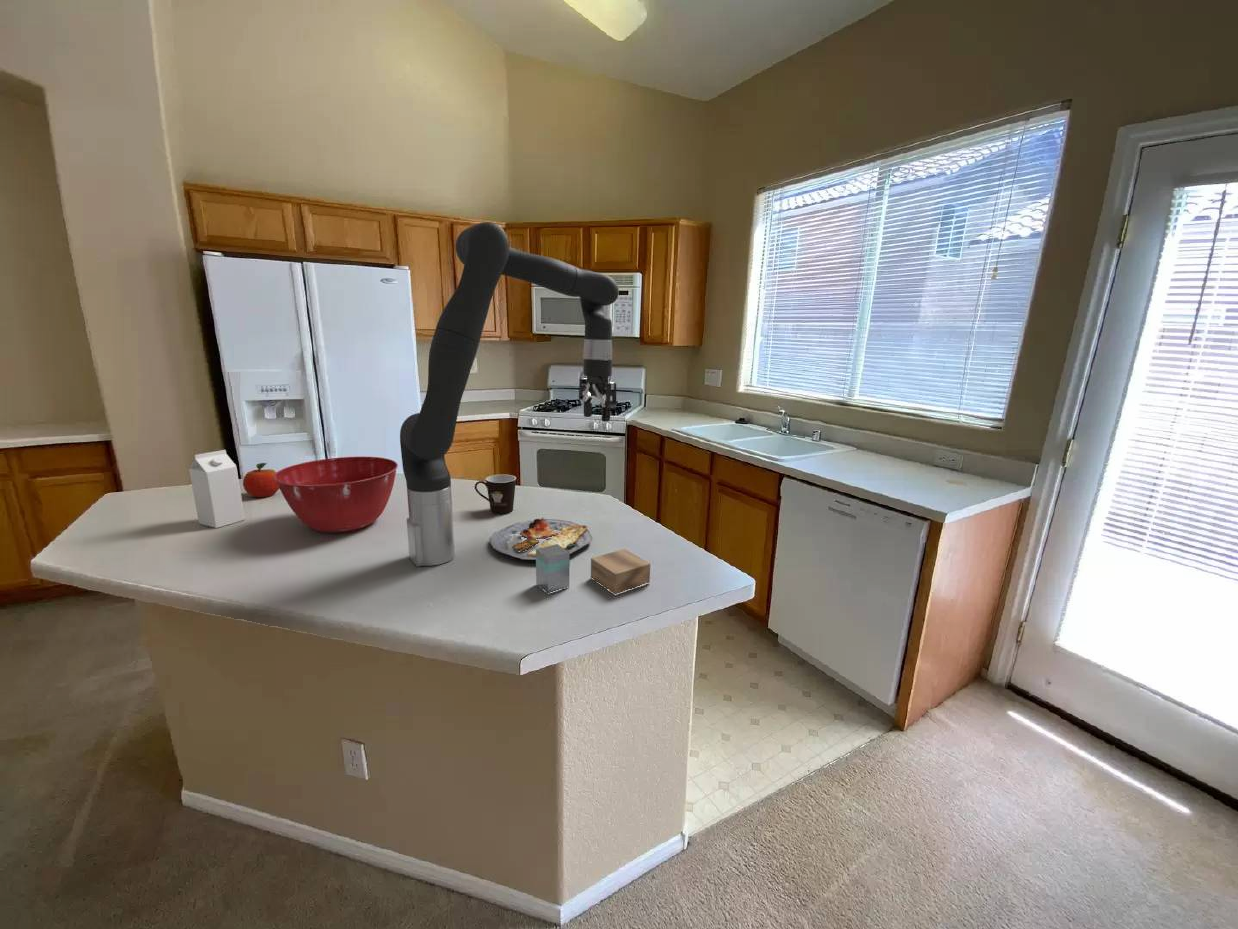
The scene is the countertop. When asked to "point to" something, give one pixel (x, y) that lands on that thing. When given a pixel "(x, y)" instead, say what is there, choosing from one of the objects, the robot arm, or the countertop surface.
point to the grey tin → (552, 568)
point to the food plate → (541, 536)
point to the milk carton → (216, 489)
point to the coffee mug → (500, 493)
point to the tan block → (620, 571)
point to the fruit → (260, 482)
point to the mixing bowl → (338, 491)
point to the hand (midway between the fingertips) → (596, 418)
